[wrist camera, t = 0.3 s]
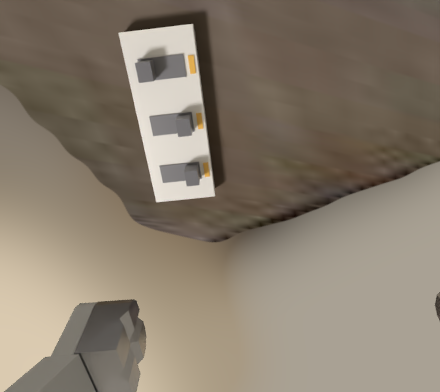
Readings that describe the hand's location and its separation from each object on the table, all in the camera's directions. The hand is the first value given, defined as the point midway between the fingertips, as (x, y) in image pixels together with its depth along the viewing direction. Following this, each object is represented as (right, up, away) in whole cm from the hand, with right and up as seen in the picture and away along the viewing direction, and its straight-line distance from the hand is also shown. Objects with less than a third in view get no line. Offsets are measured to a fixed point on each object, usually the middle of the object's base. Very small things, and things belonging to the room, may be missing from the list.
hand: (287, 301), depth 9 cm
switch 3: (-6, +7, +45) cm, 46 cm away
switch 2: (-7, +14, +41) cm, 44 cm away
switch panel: (-9, +15, +44) cm, 47 cm away
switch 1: (-12, +20, +37) cm, 44 cm away
